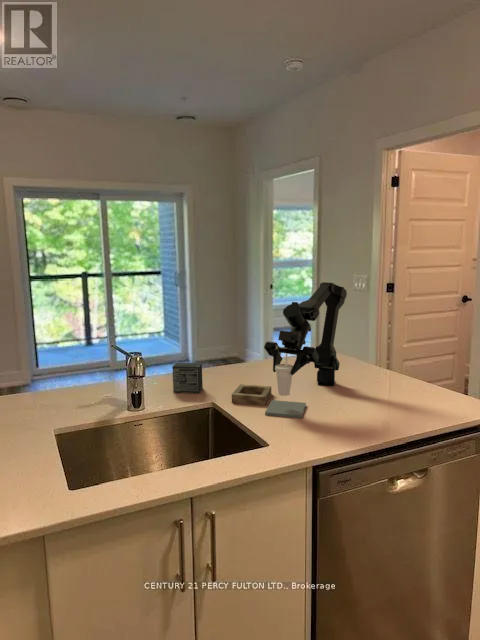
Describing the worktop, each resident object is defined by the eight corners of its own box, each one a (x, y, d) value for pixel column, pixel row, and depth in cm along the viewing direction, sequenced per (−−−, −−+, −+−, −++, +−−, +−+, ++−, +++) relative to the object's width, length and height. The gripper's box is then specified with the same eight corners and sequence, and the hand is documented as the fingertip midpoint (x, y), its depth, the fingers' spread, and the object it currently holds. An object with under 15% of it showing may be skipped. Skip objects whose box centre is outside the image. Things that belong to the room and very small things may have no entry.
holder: (271, 394, 173) (271, 386, 172) (264, 405, 161) (264, 397, 161) (240, 391, 176) (240, 384, 175) (231, 402, 164) (231, 394, 164)
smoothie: (292, 397, 152) (293, 356, 150) (273, 396, 153) (274, 355, 151) (294, 391, 159) (295, 351, 156) (275, 390, 160) (276, 351, 157)
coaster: (305, 405, 161) (305, 402, 160) (301, 418, 149) (301, 415, 149) (272, 402, 164) (272, 400, 163) (265, 415, 152) (265, 412, 152)
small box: (203, 388, 181) (202, 362, 179) (200, 393, 174) (199, 366, 172) (176, 387, 182) (175, 361, 180) (172, 393, 175) (171, 366, 173)
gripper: (266, 318, 160) (249, 356, 153) (315, 323, 150) (300, 364, 143) (277, 336, 168) (262, 373, 161) (325, 342, 157) (311, 382, 150)
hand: (282, 373), depth 153 cm, fingers closed on smoothie, 6 cm apart
